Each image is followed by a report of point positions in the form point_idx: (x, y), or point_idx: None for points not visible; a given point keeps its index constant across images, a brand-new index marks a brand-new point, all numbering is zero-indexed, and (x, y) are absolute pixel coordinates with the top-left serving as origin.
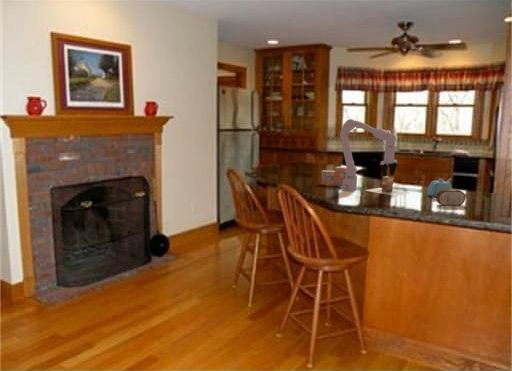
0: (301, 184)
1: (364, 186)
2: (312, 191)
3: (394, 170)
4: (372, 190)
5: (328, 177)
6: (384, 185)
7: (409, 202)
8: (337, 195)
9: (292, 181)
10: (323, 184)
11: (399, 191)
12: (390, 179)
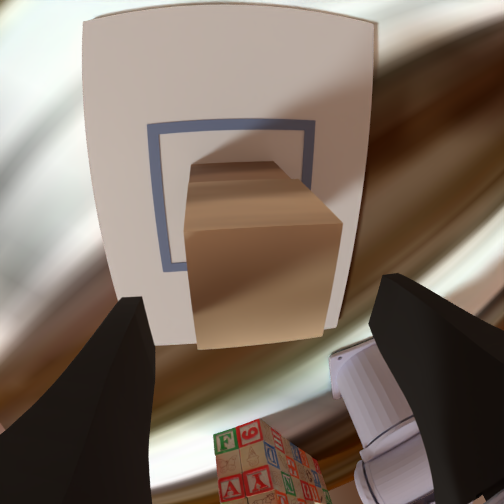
0: (356, 462)
1: (176, 411)
2: None
3: (97, 371)
4: None
5: (316, 482)
6: None
7: None
8: (498, 294)
9: (326, 485)
10: (313, 459)
11: (113, 129)
12: (290, 209)
